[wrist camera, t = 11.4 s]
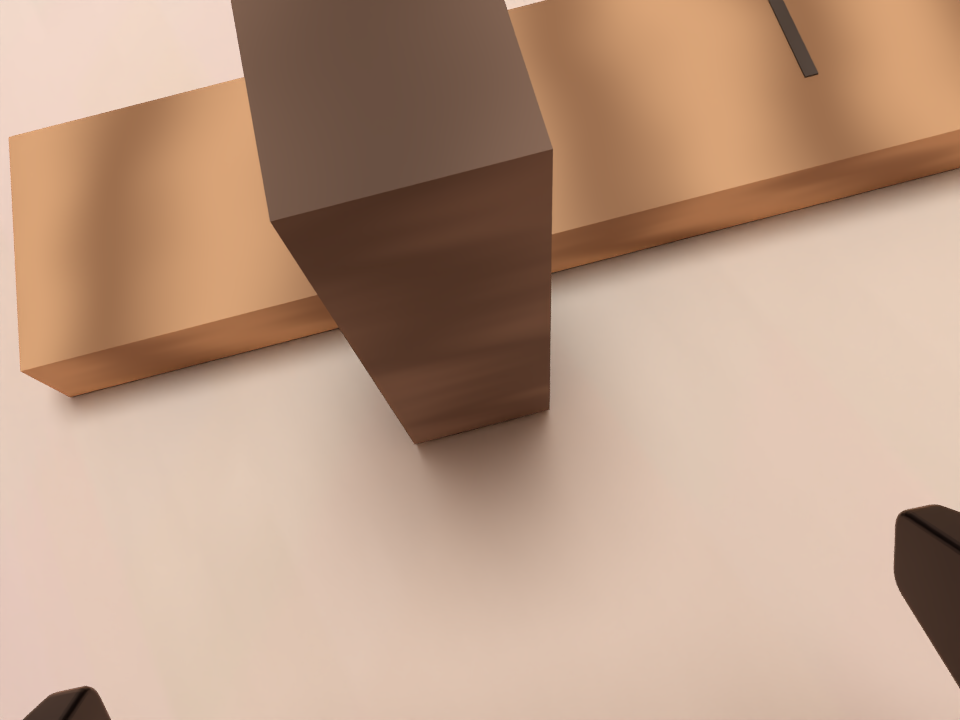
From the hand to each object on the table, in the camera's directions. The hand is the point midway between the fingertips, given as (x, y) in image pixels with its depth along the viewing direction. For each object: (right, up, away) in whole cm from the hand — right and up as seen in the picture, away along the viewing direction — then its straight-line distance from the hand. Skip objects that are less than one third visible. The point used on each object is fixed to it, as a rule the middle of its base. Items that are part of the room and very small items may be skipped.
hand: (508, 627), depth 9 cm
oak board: (+4, +10, +18) cm, 20 cm away
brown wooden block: (-2, +6, +16) cm, 18 cm away
